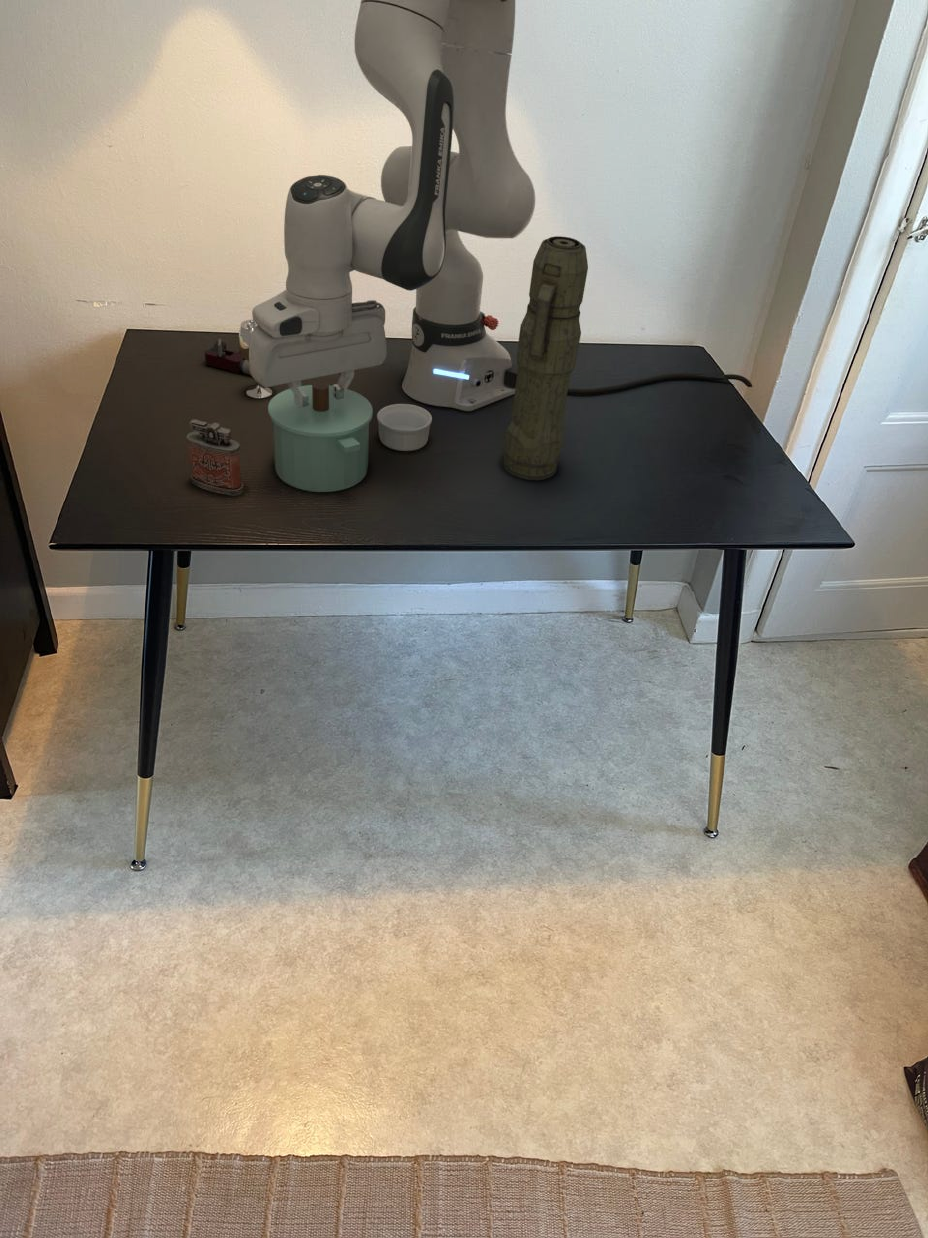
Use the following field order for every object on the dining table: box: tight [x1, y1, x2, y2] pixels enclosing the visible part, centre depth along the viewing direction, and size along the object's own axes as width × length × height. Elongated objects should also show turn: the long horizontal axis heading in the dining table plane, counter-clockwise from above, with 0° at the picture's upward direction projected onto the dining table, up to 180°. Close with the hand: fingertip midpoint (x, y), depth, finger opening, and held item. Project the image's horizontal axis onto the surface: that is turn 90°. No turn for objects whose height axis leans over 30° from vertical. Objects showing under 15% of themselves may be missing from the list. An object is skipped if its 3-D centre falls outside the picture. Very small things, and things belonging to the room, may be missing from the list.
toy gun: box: [203, 338, 251, 376], centre depth 163 cm, size 10×12×5 cm
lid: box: [267, 381, 374, 437], centre depth 132 cm, size 15×15×5 cm
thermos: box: [502, 235, 589, 481], centre depth 134 cm, size 9×12×35 cm
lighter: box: [186, 419, 244, 496], centre depth 129 cm, size 8×3×10 cm, turn 71°
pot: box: [272, 421, 370, 493], centre depth 136 cm, size 14×19×10 cm
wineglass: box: [238, 319, 273, 399], centre depth 152 cm, size 6×6×12 cm
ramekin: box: [376, 403, 433, 452], centre depth 146 cm, size 9×9×4 cm
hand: (320, 401), depth 132 cm, fingers open, 5 cm apart
